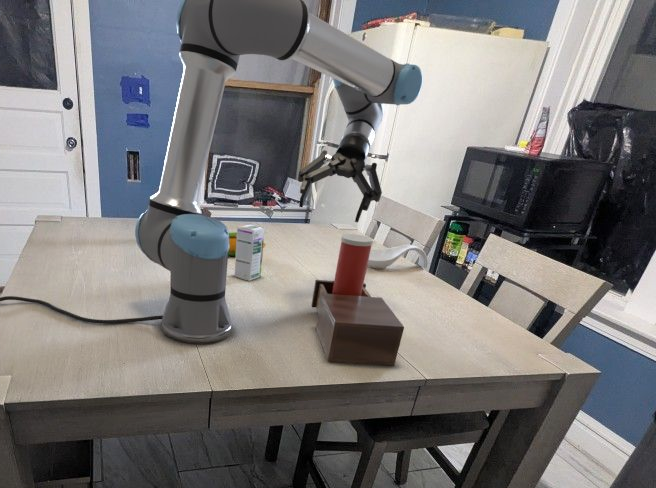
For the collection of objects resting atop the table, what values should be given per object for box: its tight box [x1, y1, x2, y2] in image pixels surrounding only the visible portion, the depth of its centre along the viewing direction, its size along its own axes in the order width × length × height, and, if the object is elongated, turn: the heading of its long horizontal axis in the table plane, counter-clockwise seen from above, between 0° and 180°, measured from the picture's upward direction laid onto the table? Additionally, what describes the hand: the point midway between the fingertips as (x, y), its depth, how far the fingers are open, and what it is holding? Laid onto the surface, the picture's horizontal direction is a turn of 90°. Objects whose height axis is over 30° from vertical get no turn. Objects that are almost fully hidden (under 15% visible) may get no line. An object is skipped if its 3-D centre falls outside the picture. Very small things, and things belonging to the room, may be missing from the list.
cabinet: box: [315, 293, 405, 367], centre depth 103 cm, size 17×14×9 cm
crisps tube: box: [332, 233, 374, 296], centre depth 111 cm, size 7×7×18 cm
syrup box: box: [233, 223, 266, 282], centre depth 139 cm, size 6×6×14 cm
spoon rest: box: [367, 244, 429, 270], centre depth 162 cm, size 24×12×7 cm, turn 102°
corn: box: [228, 232, 267, 257], centre depth 161 cm, size 7×8×20 cm
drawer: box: [310, 279, 372, 314], centre depth 116 cm, size 20×12×7 cm, turn 0°
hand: (328, 210), depth 113 cm, fingers open, 13 cm apart
